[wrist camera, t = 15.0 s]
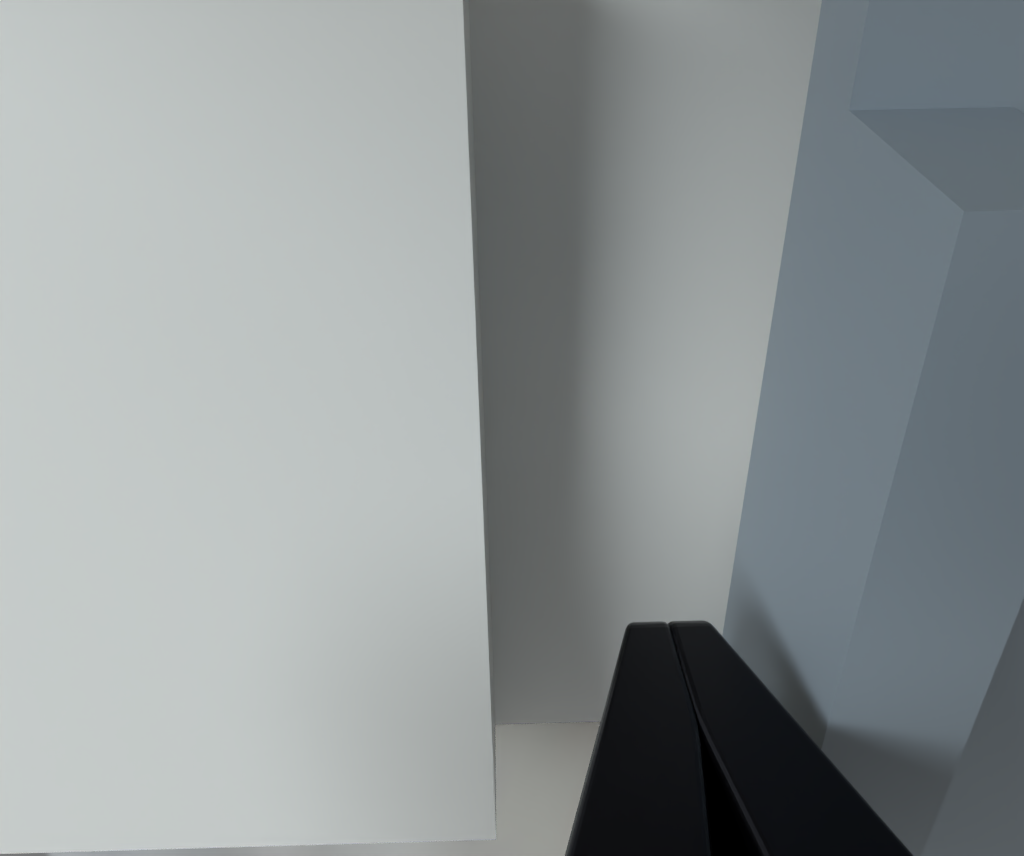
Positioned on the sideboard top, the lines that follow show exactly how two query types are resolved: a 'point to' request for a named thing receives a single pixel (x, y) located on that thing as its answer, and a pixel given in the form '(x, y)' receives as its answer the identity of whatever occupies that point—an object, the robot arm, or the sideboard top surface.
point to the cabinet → (900, 424)
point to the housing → (364, 391)
